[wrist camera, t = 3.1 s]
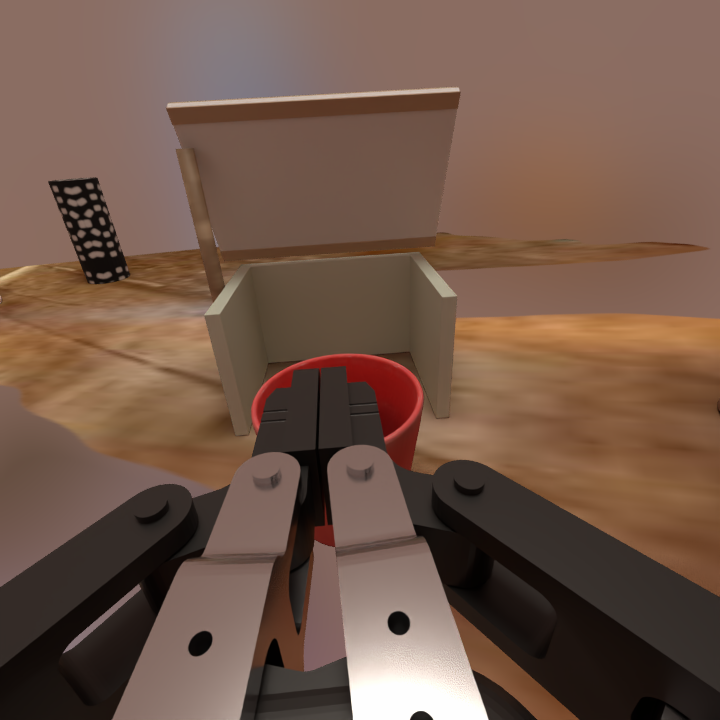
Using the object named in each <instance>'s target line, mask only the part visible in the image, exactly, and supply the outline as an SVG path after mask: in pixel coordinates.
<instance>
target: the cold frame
mask: <svg viewBox="0 0 720 720" xmlns="http://www.w3.org/2000/svg"><path fill="white" fill-rule="evenodd" d="M456 305H457V295H456V294H455V293H454V292H453V291H452V290H451V288H450V287H449V286H448V285H447V284H446V283H445V282H444V280H443V279H442V278H441V277H440V276H439V275H438V274H437V272H436V271H435V270H434V269H433V268H432V267H431V265H430V264H429V263H428V262H427V261H426V260H425V258H424V257H423V256H422V255H421V254H420V253H419V252H414V253H400V254H386V255H371V256H357V257H343V258H329V259H315V260H301V261H287V262H273V263H259V264H245V265H241V266H240V267H239V268H238V270H237V271H236V273H235V274H234V275H233V277H232V278H231V279H230V281H229V282H228V284H227V285H226V286H225V288H224V289H223V290H222V292H221V293H220V294H219V296H218V297H217V299H216V300H215V301H214V303H213V304H212V305H211V307H210V308H209V310H208V311H207V312H206V314H205V315H204V316H205V320H206V324H207V328H208V331H209V335H210V339H211V343H212V347H213V351H214V355H215V358H216V362H217V366H218V370H219V374H220V378H221V382H222V385H223V389H224V393H225V397H226V401H227V405H228V408H229V412H230V416H231V420H232V424H233V428H234V432H235V435H236V436H240V435H249V432H250V428H251V424H252V419H251V407H252V403H253V400H254V398H255V396H256V394H257V392H258V391H259V389H260V388H261V387H262V384H263V381H264V377H265V373H266V370H267V366H268V363H276V362H288V361H301V360H308V359H312V358H316V357H321V356H326V355H334V354H366V355H375V354H387V353H400V352H410V354H411V356H412V359H413V361H414V364H415V366H416V369H417V371H418V374H419V376H420V379H421V381H422V384H423V386H424V389H425V391H426V394H427V396H428V399H429V401H430V404H431V406H432V409H433V411H434V414H435V416H436V418H446V417H449V409H450V394H451V379H452V364H453V350H454V335H455V320H456Z"/></svg>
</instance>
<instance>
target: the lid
mask: <svg viewBox="0 0 720 720" xmlns="http://www.w3.org/2000/svg"><path fill="white" fill-rule="evenodd" d="M459 98H460V90H459V88H458V87H444V88H426V89H408V90H390V91H373V92H353V93H337V94H336V93H335V94H317V95H301V96H300V95H299V96H283V97H263V98H245V99H228V100H210V101H191V102H174V103H168V105H167V107H166V109H167V112H168V115H169V117H170V120H171V122H172V125H173V126H174V129H175V131H176V134H177V136H178V139H179V142H180V145H181V147H182V149H186V148H194V151H195V156H196V160H197V165H198V169H199V174H200V178H201V183H202V187H203V191H204V196H205V200H206V205H207V209H208V214H209V218H210V223H211V227H212V230H213V232H214V235H215V238H216V240H217V243H218V245H219V248H220V251H221V255H222V257H223V260H224V261H233V260H247V259H261V258H276V257H290V256H304V255H318V254H332V253H346V252H360V251H374V250H389V249H403V248H417V247H431V246H435V241H436V232H437V226H438V220H439V214H440V208H441V202H442V196H443V190H444V184H445V178H446V172H447V167H448V161H449V155H450V148H451V143H452V136H453V131H454V125H455V119H456V113H457V109H458V104H459Z"/></svg>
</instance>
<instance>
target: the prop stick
mask: <svg viewBox="0 0 720 720" xmlns="http://www.w3.org/2000/svg"><path fill="white" fill-rule="evenodd" d="M176 153H177V157H178V161H179V165H180V169H181V173H182V177H183V181H184V186H185V189H186V194H187V198H188V202H189V206H190V209H191V214H192V218H193V222H194V226H195V230H196V235H197V238H198V243H199V247H200V251H201V255H202V259H203V263H204V267H205V272H206V276H207V280H208V284H209V288H210V292H211V296H212V300H213V303H214V301H215V300H216V299H217V297H218V296H219V294H220V293H221V292H222V290H223V289H224V288H225V285H224V281H223V276H222V272H221V267H220V263H219V258H218V254H217V249H216V245H215V241H214V236H213V232H212V227H211V223H210V218H209V214H208V209H207V205H206V200H205V196H204V191H203V187H202V183H201V178H200V174H199V169H198V165H197V160H196V156H195V151H194V148H186V149H176Z"/></svg>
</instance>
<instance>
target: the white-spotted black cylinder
mask: <svg viewBox="0 0 720 720" xmlns="http://www.w3.org/2000/svg"><path fill="white" fill-rule="evenodd" d="M49 185H50V188H51V190H52V193H53V195H54V198H55V200H56V202H57V205H58V208H59V210H60V213H61V216H62V218H63V221H64V223H65V226H66V228H67V231H68V233H69V236H70V238H71V241H72V243H73V246H74V248H75V251H76V254H77V256H78V259H79V261H80V264H81V266H82V269H83V271H84V274H85V276H86V279H87V281H88V283H91V284H103V283H110V282H115V281H119V280H122V279H125V278H127V277H128V276H130V273H129V270H128V267H127V264H126V261H125V258H124V255H123V252H122V249H121V246H120V244H119V241H118V237H117V235H116V232H115V229H114V226H113V223H112V220H111V217H110V214H109V211H108V208H107V205H106V202H105V199H104V196H103V193H102V190H101V187H100V184H99V181H98V178H79V179H66V180H55V181H49Z"/></svg>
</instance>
